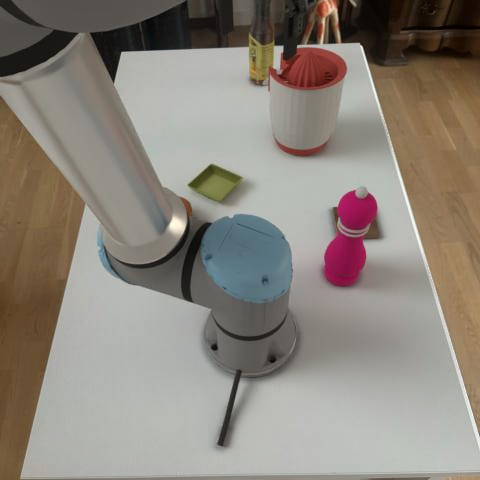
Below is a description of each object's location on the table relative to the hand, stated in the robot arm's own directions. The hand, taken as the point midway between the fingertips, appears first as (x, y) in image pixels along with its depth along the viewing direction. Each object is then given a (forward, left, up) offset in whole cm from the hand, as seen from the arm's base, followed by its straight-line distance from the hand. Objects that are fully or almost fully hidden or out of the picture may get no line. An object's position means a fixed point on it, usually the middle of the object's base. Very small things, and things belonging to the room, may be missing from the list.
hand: (257, 44), depth 74 cm
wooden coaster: (-10, -22, -27) cm, 36 cm away
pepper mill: (-23, -21, -27) cm, 41 cm away
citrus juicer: (+14, -6, -27) cm, 31 cm away
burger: (-18, +14, -27) cm, 35 cm away
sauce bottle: (+37, +8, -27) cm, 47 cm away
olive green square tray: (-6, +8, -27) cm, 29 cm away
